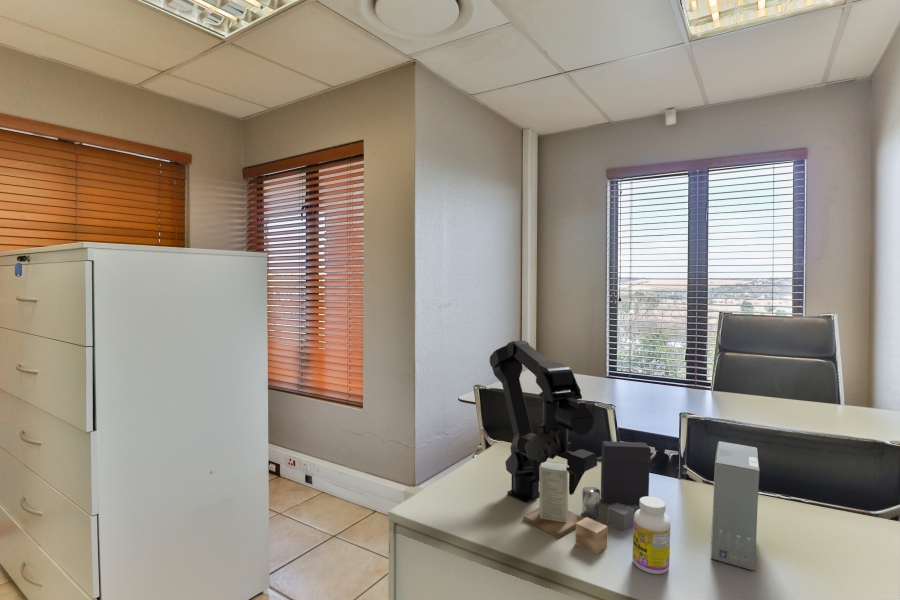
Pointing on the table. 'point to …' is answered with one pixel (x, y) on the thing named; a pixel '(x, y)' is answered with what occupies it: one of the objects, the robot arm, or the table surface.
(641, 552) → the supplement bottle
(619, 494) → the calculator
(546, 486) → the skincare box
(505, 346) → the robot arm
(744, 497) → the hard drive box
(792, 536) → the table surface
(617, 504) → the gray cube
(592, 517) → the metal canister
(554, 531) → the walnut board
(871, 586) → the table surface
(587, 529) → the oak block
